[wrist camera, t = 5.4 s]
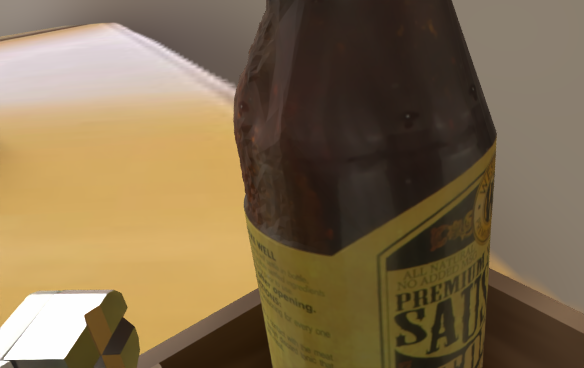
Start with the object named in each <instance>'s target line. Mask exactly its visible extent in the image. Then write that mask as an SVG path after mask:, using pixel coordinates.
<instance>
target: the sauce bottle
mask: <svg viewBox="0 0 584 368" xmlns="http://www.w3.org/2000/svg"><path fill="white" fill-rule="evenodd" d="M234 134H235V140H236V144H237V148H238V154H239V158H240V165H241V170H242V178H243V181H244V185H245V193H246V195H245V199H244V211H245V217H246V223H247V229H248V234H249V239H250V244H251V250H252V255H253V260H254V266H255V271H256V277H257V282H258V288H259V293H260V299H261V304H262V310H263V315H264V321H265V326H266V332H267V338H268V343H269V349H270V354H271V360H272V366H273V368H482V366H483V347H484V335H485V321H486V303H487V292H488V278H489V255H490V233H491V217H492V204H493V189H494V175H495V157H496V138H497V133H496V130H495V127H494V124H493V121H492V118H491V115H490V112H489V109H488V106H487V103H486V100H485V97H484V94H483V91H482V88H481V85H480V82H479V80H478V77H477V74H476V71H475V68H474V65H473V62H472V59H471V56H470V53H469V51H468V47H467V44H466V41H465V38H464V36H463V33H462V30H461V27H460V24H459V21H458V18H457V15H456V12H455V9H454V6H453V3H452V0H266V11H265V13H264V15H263V17H262V21H261V22H260V23H259V28H258V31H257V34H256V36H255V39H254V43H253V44H252V45H251V48H250V50H249V57H248V64H247V66H246V67H245V69H244V71H243V73H242V74H241V75H240V78H239V83H238V86H237V89H236V93H235V98H234Z"/></svg>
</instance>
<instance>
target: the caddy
mask: <svg viewBox="0 0 584 368" xmlns="http://www.w3.org/2000/svg"><path fill="white" fill-rule="evenodd" d="M137 368H273V366H272V360H271V354H270V349H269V343H268V338H267V332H266V326H265V321H264V315H263V310H262V304H261V299H260V293H259V288H257V289H256V290H254V291H252V292H250V293H249V294H247V295H245V296H243V297H241V298H240V299H238V300H236V301H234V302H233V303H231V304H229V305H227V306H226V307H224V308H222V309H220V310H219V311H217V312H215V313H213V314H212V315H210V316H208V317H206V318H205V319H203V320H201V321H199V322H198V323H196V324H194V325H192V326H190V327H189V328H187V329H185V330H183V331H182V332H180V333H178V334H176V335H175V336H173V337H171V338H169V339H168V340H166V341H164V342H162V343H161V344H159V345H157V346H155V347H154V348H152V349H150V350H148V351H147V352H145V353H143V354H141V355H139V358H138V364H137ZM482 368H584V314H583V313H581V312H579V311H577V310H575V309H573V308H571V307H569V306H566V305H564V304H562V303H560V302H558V301H556V300H554V299H552V298H550V297H548V296H546V295H544V294H542V293H540V292H538V291H536V290H533V289H531V288H529V287H527V286H525V285H523V284H521V283H519V282H517V281H515V280H513V279H511V278H509V277H507V276H505V275H503V274H500V273H498V272H496V271H494V270H492V269H490V268H489V278H488V292H487V303H486V321H485V335H484V347H483V366H482Z"/></svg>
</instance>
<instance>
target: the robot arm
mask: <svg viewBox="0 0 584 368" xmlns="http://www.w3.org/2000/svg"><path fill="white" fill-rule="evenodd" d="M127 308H128V307H127V305H126V303H125V300H124V298H123V296H122V293H120V292H118V291H115V290H63V291H37V292H35V293H32V294H30V295H28V296H27V298H26V299H25V300H24V301H23V302H22V303H21V305H20V306H19V307H18V308H17V309H16V310H15V311H14V313H13V314H12V315H11V316H10V317H9V318H8V320H7V321H6V322H5V323H4V324H3V325H2V327H1V328H0V368H137V364H138V358H139V352H140V347H139V338H138V335H137V332H136V329H135V327H134V326H133V325H132V324H131V323H130V322H128V321H127V320H126V319H125V318H123V316H124V314H125V312H126V310H127Z"/></svg>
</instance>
